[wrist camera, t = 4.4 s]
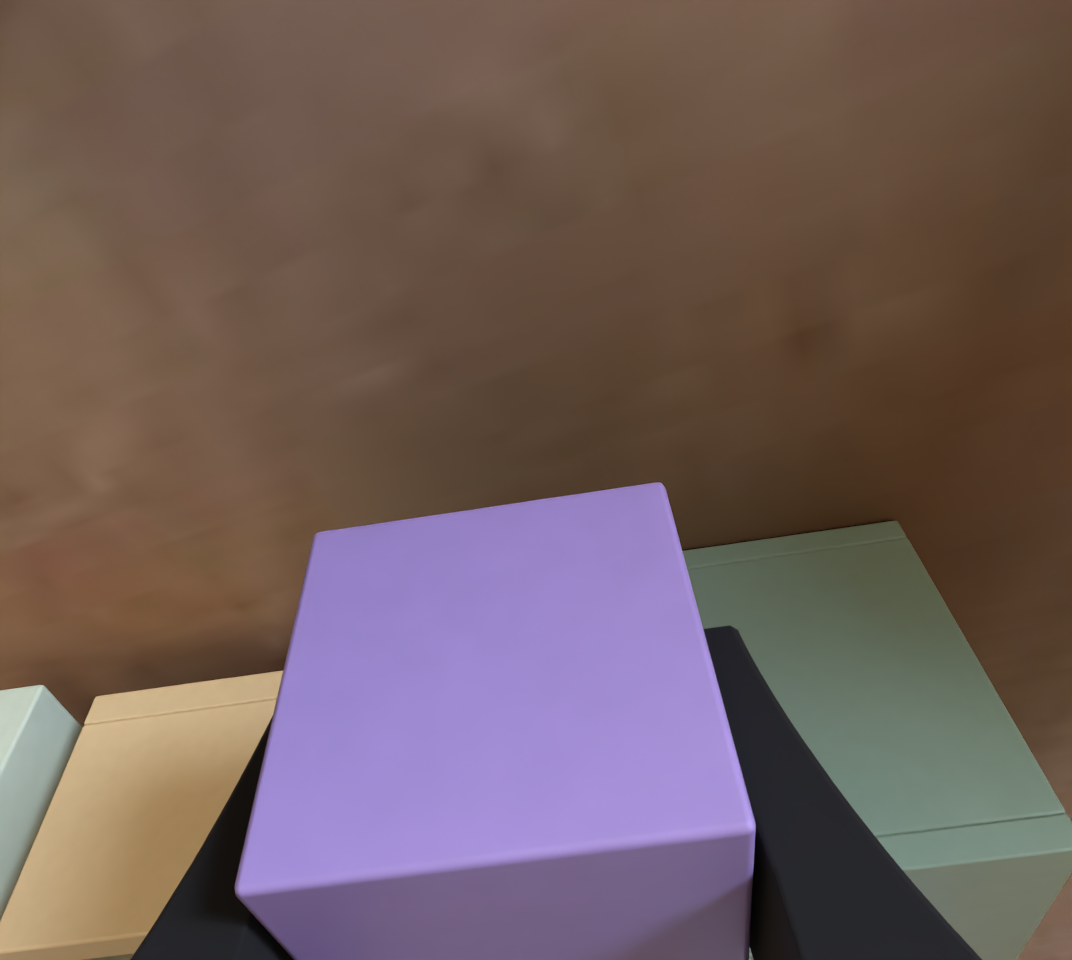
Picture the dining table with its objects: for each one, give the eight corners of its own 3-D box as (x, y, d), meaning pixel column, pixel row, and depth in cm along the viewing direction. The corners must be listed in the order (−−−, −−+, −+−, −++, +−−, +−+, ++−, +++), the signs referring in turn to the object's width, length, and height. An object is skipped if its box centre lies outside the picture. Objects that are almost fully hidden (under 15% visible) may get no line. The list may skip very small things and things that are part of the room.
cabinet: (457, 849, 28) (451, 1129, 22) (341, 598, 20) (282, 945, 14) (843, 801, 27) (943, 1077, 21) (897, 518, 19) (1088, 848, 13)
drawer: (32, 917, 28) (-58, 1143, 23) (-234, 721, 20) (-449, 1000, 15) (560, 852, 27) (577, 1073, 22) (494, 619, 19) (499, 885, 14)
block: (664, 477, 11) (758, 829, 7) (677, 690, 14) (748, 1011, 10) (312, 530, 11) (227, 895, 7) (401, 726, 14) (374, 1052, 10)
